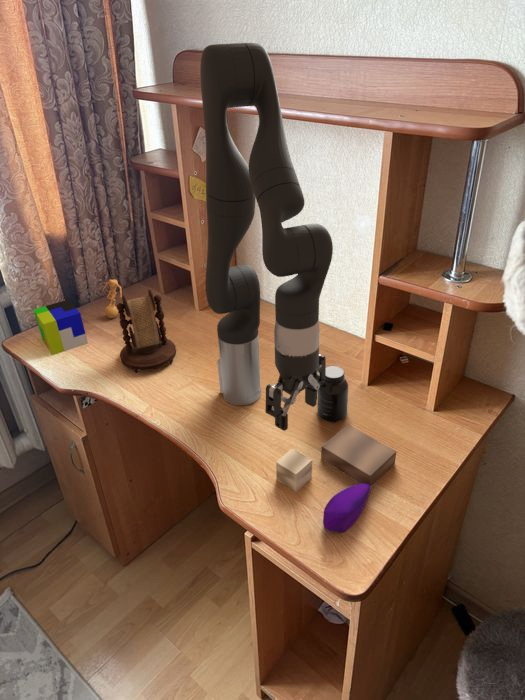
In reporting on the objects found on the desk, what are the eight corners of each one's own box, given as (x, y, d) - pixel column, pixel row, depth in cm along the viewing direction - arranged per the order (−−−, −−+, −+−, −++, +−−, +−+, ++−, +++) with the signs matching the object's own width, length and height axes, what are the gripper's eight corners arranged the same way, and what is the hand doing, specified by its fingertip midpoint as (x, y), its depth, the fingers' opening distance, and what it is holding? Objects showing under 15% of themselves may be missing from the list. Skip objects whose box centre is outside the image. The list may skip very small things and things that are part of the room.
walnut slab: (321, 460, 113) (321, 446, 110) (347, 438, 118) (348, 424, 116) (368, 490, 105) (370, 475, 103) (394, 465, 111) (396, 451, 108)
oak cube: (276, 479, 108) (276, 462, 105) (292, 466, 111) (292, 448, 108) (295, 492, 105) (296, 474, 102) (311, 477, 108) (312, 459, 105)
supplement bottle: (327, 400, 128) (329, 358, 122) (352, 411, 124) (355, 369, 118) (311, 415, 124) (311, 373, 117) (336, 427, 120) (338, 384, 114)
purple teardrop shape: (382, 480, 102) (338, 525, 92) (379, 499, 104) (335, 545, 94) (360, 468, 104) (315, 511, 94) (357, 487, 107) (313, 530, 97)
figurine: (98, 316, 166) (90, 281, 159) (114, 308, 170) (106, 273, 163) (117, 323, 162) (109, 287, 155) (132, 315, 166) (125, 280, 159)
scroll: (128, 380, 137) (113, 312, 126) (116, 352, 149) (102, 287, 138) (183, 365, 142) (174, 298, 131) (168, 339, 154) (158, 275, 143)
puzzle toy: (88, 343, 153) (80, 312, 148) (52, 355, 149) (43, 324, 143) (76, 328, 160) (68, 299, 155) (42, 339, 156) (33, 309, 150)
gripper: (305, 318, 97) (304, 389, 106) (251, 352, 88) (255, 427, 97) (339, 331, 92) (335, 405, 101) (287, 369, 84) (287, 446, 93)
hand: (296, 416), depth 99 cm, fingers open, 8 cm apart
